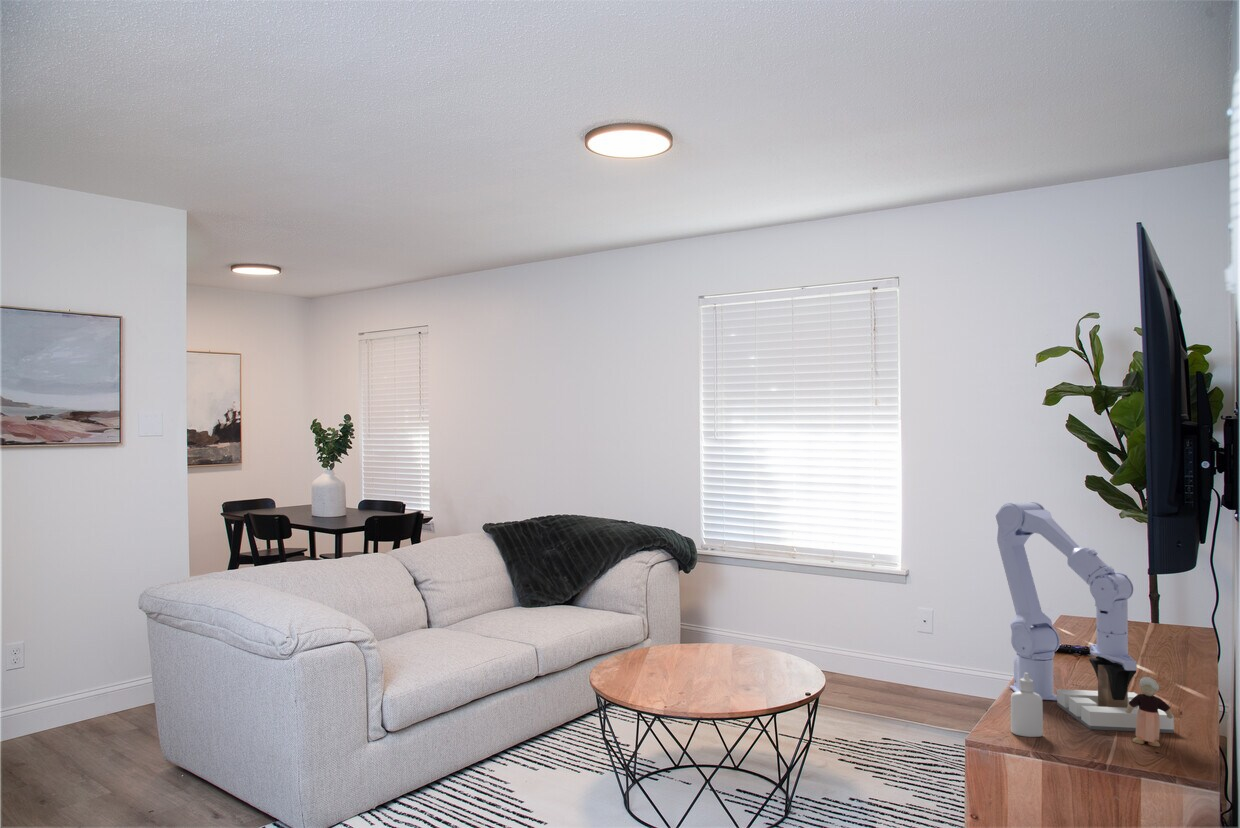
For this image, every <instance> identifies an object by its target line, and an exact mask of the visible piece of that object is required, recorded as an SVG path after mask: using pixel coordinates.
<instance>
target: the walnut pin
mask: <svg viewBox="0 0 1240 828" xmlns="http://www.w3.org/2000/svg"><path fill="white" fill-rule="evenodd" d="M1097 691H1098V706H1099V707H1122V708H1127V706H1128V692H1129V691H1128V689H1127V692H1126V696H1125V699H1124V700H1114V699H1113V698H1112V694H1111V687H1110V680H1109V677H1108V674H1107V671H1106V669H1105V667H1104V665H1098V679H1097Z"/></svg>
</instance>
